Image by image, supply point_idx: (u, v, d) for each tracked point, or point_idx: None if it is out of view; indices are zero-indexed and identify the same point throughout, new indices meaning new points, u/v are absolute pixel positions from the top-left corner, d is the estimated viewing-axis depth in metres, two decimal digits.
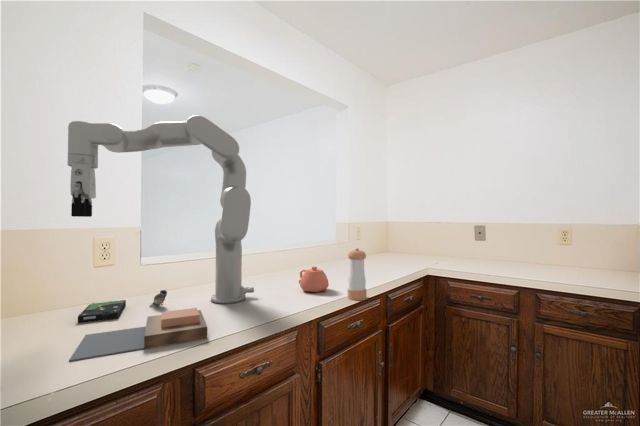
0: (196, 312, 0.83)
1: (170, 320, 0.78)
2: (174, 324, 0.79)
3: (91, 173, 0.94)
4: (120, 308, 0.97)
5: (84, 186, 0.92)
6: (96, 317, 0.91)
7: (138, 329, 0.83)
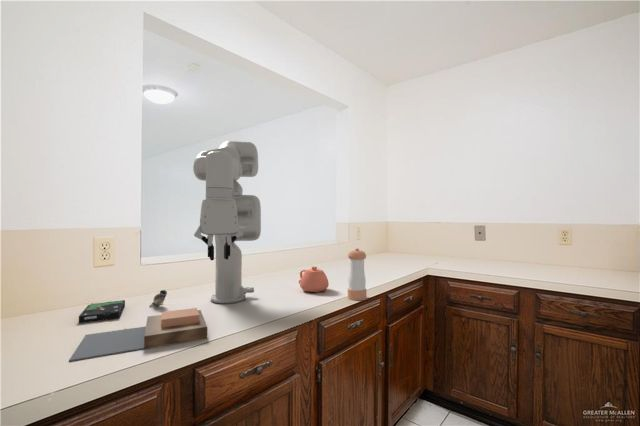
0: (196, 312, 0.83)
1: (170, 320, 0.78)
2: (174, 324, 0.79)
3: None
4: (121, 308, 0.97)
5: None
6: (97, 317, 0.91)
7: (138, 329, 0.83)
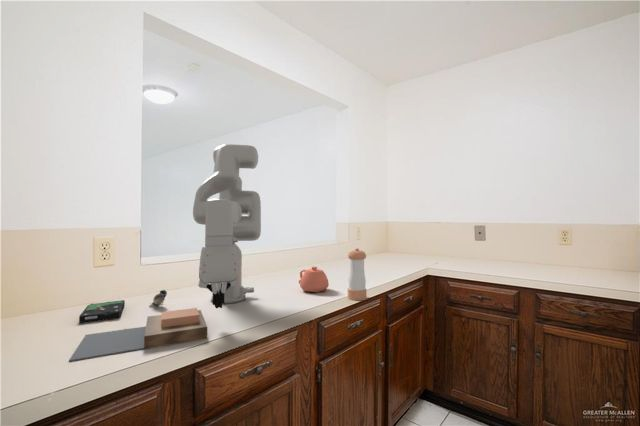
0: (196, 312, 0.83)
1: (170, 320, 0.78)
2: (174, 324, 0.79)
3: None
4: (121, 308, 0.97)
5: None
6: (98, 317, 0.91)
7: (138, 329, 0.83)
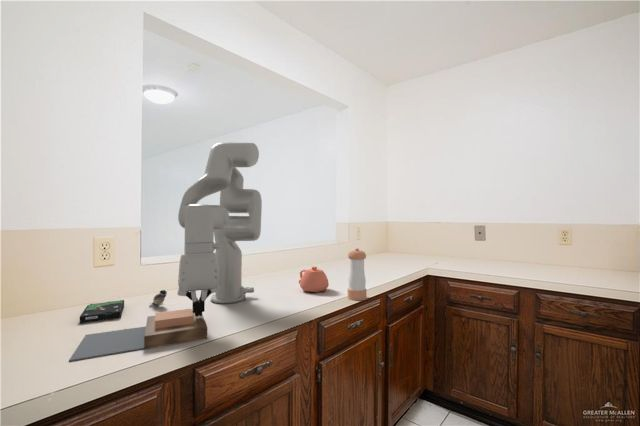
0: (191, 313, 0.83)
1: (164, 321, 0.77)
2: (168, 325, 0.78)
3: None
4: (121, 308, 0.97)
5: None
6: (99, 317, 0.91)
7: (138, 329, 0.83)
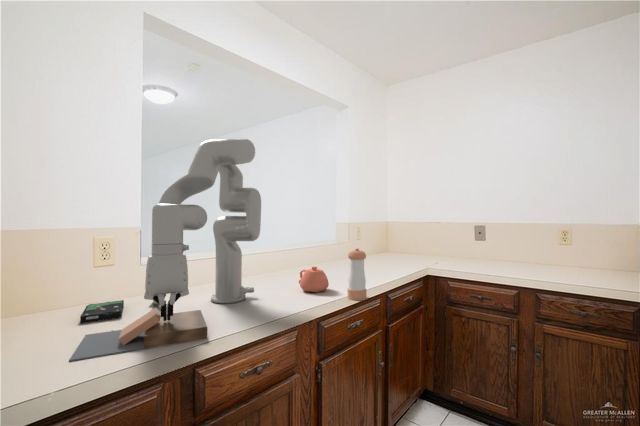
0: (154, 313, 0.78)
1: (127, 334, 0.73)
2: (135, 336, 0.74)
3: None
4: (121, 308, 0.97)
5: None
6: (99, 316, 0.91)
7: None
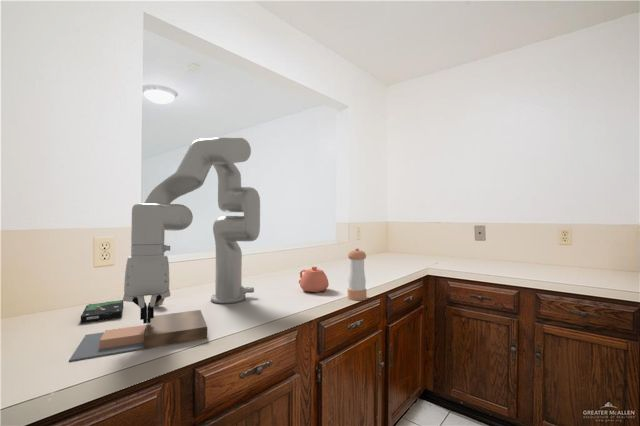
0: (143, 330, 0.77)
1: (109, 340, 0.72)
2: (114, 345, 0.72)
3: None
4: (122, 307, 0.97)
5: None
6: (100, 317, 0.91)
7: None
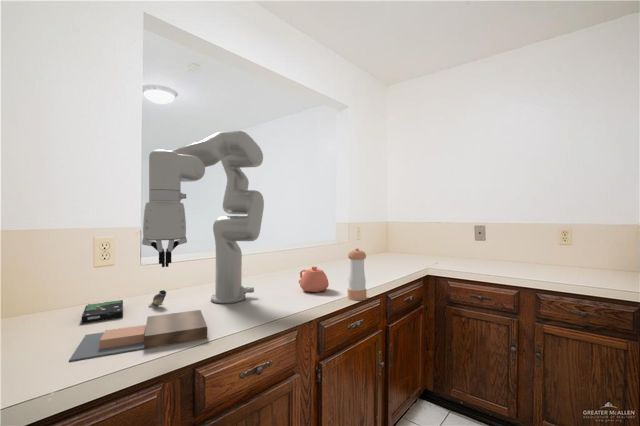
0: (143, 330, 0.77)
1: (109, 340, 0.72)
2: (114, 345, 0.72)
3: None
4: (122, 307, 0.97)
5: None
6: (101, 316, 0.91)
7: None
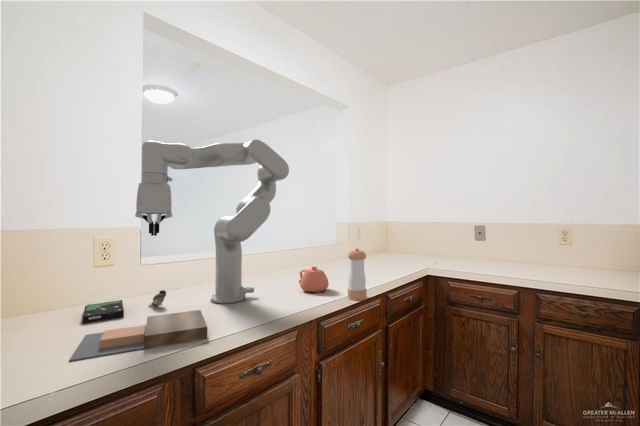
0: (143, 330, 0.77)
1: (109, 340, 0.72)
2: (114, 345, 0.72)
3: None
4: None
5: None
6: (102, 316, 0.91)
7: None
